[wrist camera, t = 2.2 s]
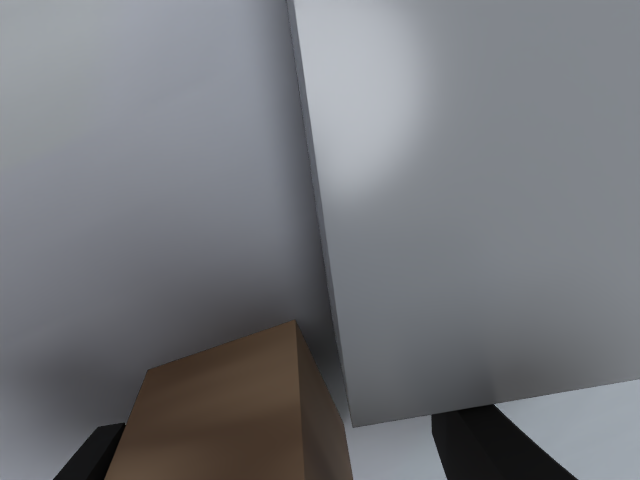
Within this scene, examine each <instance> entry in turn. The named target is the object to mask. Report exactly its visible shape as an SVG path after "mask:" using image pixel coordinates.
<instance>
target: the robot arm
mask: <svg viewBox="0 0 640 480" xmlns="http://www.w3.org/2000/svg"><path fill="white" fill-rule="evenodd" d="M431 416H432V434H433V438H434V441H435V444H436V447H437V450H438V453H439V456H440V459H441V462H442V465H443V468H444V471H445V474H446V477H447V480H578V479H577V478H575V477H574V476H573V475H572V474H571V473H569V472H568V471H567V470H566V469H565V468H563V467H562V466H561V465H560V464H559V463H557V462H556V461H555V460H554V459H553V458H552V457H550V456H549V455H548V454H547V453H546V452H545V451H544V450H542V449H541V448H540V447H539V446H538V445H537V444H536V443H535V442H533V441H532V440H531V439H530V438H529V437H528V436H527V435H526V434H525V433H524V432H522V431H521V430H520V429H519V428H518V427H517V426H516V425H515V424H514V423H513V422H512V421H511V420H509V419H508V418H507V417H506V416H505V415H504V414H503V413H502V412H501V411H500V410H499V409H498V408H497V407H496V406H495V405H494V404H490V405H484V406H478V407H472V408H466V409H461V410H455V411H449V412H443V413H437V414H431ZM125 426H126V425H125V423H119V424H113V425H107V426H101V427H98V428H97V429H96V430H95V431H94V432H93V433H92V434H91V435H90V437H89V438H88V439H87V440H86V441H85V442H84V444H83V445H82V446H81V447H80V448H79V449H78V451H77V452H76V453H75V454H74V455H73V457H72V458H71V459H70V460H69V461H68V462H67V464H66V465H65V466H64V467H63V468H62V470H61V471H60V472H59V473H58V474H57V476H56V477H55V478H54V479H53V480H104V479H105V477H106V474H107V472H108V469H109V467H110V464H111V462H112V459H113V457H114V454H115V452H116V449H117V446H118V444H119V441H120V439H121V436H122V434H123V431H124V429H125Z"/></svg>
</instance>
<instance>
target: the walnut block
mask: <svg viewBox="0 0 640 480" xmlns="http://www.w3.org/2000/svg"><path fill="white" fill-rule="evenodd" d="M104 480H353V475H352V470H351V464H350V458H349V452H348V446H347V440H346V434H345V428H344V424H343V422H342V419H341V417H340V415H339V413H338V411H337V409H336V406H335V404H334V402H333V400H332V398H331V396H330V394H329V391H328V389H327V387H326V385H325V383H324V381H323V378H322V376H321V374H320V372H319V370H318V368H317V365H316V363H315V361H314V359H313V357H312V355H311V353H310V350H309V348H308V346H307V344H306V342H305V340H304V337H303V335H302V333H301V331H300V329H299V327H298V324H297V322H296V320H292V321H289V322H286V323H284V324H281V325H278V326H275V327H272V328H269V329H266V330H263V331H260V332H257V333H254V334H251V335H248V336H246V337H243V338H240V339H237V340H234V341H231V342H228V343H225V344H222V345H219V346H216V347H213V348H211V349H208V350H205V351H202V352H199V353H196V354H193V355H190V356H187V357H184V358H181V359H178V360H175V361H173V362H170V363H167V364H164V365H161V366H158V367H155V368H152V369H149V370H148V371H147V374H146V376H145V379H144V381H143V384H142V386H141V389H140V391H139V394H138V396H137V399H136V401H135V404H134V406H133V409H132V411H131V414H130V416H129V419H128V421H127V424H126V426H125V429H124V431H123V434H122V436H121V439H120V441H119V444H118V446H117V449H116V452H115V454H114V457H113V459H112V462H111V464H110V467H109V469H108V472H107V474H106V477H105V479H104Z"/></svg>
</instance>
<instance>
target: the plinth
mask: <svg viewBox="0 0 640 480" xmlns="http://www.w3.org/2000/svg"><path fill="white" fill-rule="evenodd" d="M286 3H287V10H288V17H289V24H290V31H291V38H292V45H293V52H294V59H295V65H296V72H297V79H298V86H299V93H300V100H301V107H302V114H303V121H304V128H305V135H306V142H307V148H308V155H309V162H310V169H311V176H312V183H313V190H314V197H315V204H316V211H317V218H318V224H319V231H320V238H321V245H322V252H323V259H324V266H325V273H326V280H327V287H328V294H329V301H330V307H331V314H332V321H333V328H334V334H335V339H336V344H337V349H338V354H339V360H340V365H341V370H342V375H343V380H344V385H345V391H346V396H347V401H348V406H349V411H350V416H351V422H352V427H353V428H354V427H360V426H366V425H372V424H378V423H384V422H390V421H396V420H402V419H407V418H413V417H419V416H425V415H431V414H437V413H443V412H449V411H455V410H461V409H466V408H472V407H478V406H484V405H490V404H496V403H502V402H508V401H514V400H520V399H525V398H531V397H537V396H543V395H549V394H555V393H561V392H567V391H573V390H578V389H584V388H590V387H596V386H602V385H608V384H614V383H620V382H626V381H632V380H637V379H640V0H286Z"/></svg>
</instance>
